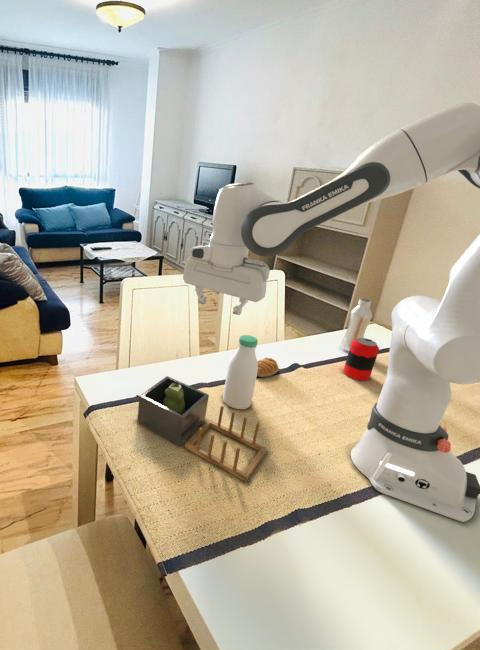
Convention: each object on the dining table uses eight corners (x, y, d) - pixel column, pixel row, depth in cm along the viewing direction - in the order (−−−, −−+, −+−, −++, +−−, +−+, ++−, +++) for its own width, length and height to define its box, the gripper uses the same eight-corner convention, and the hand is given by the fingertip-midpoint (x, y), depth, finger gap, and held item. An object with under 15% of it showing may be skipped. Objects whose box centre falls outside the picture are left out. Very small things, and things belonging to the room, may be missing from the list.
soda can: (371, 375, 126) (382, 342, 121) (366, 383, 121) (377, 350, 116) (346, 366, 131) (356, 334, 126) (340, 374, 125) (349, 341, 121)
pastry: (264, 381, 119) (267, 371, 117) (245, 372, 123) (247, 362, 122) (279, 372, 125) (282, 361, 123) (260, 363, 129) (262, 353, 128)
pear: (186, 417, 99) (190, 384, 95) (177, 428, 95) (181, 394, 91) (167, 409, 102) (170, 376, 98) (157, 419, 98) (160, 385, 94)
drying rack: (266, 451, 90) (271, 427, 88) (245, 482, 81) (251, 456, 79) (208, 423, 99) (212, 400, 96) (184, 447, 90) (188, 423, 88)
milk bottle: (252, 412, 104) (266, 346, 97) (223, 407, 105) (234, 342, 98) (249, 396, 111) (261, 333, 104) (221, 391, 112) (232, 330, 105)
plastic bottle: (343, 344, 146) (358, 295, 139) (363, 351, 141) (379, 301, 134) (336, 349, 142) (351, 298, 135) (356, 356, 137) (372, 304, 130)
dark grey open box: (204, 420, 100) (208, 394, 97) (179, 445, 91) (183, 418, 88) (164, 400, 107) (166, 375, 104) (137, 422, 98) (139, 395, 95)
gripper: (276, 260, 86) (264, 317, 92) (195, 244, 98) (189, 295, 103) (266, 265, 82) (254, 324, 87) (183, 248, 94) (177, 301, 99)
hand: (218, 308), depth 95 cm, fingers open, 8 cm apart
